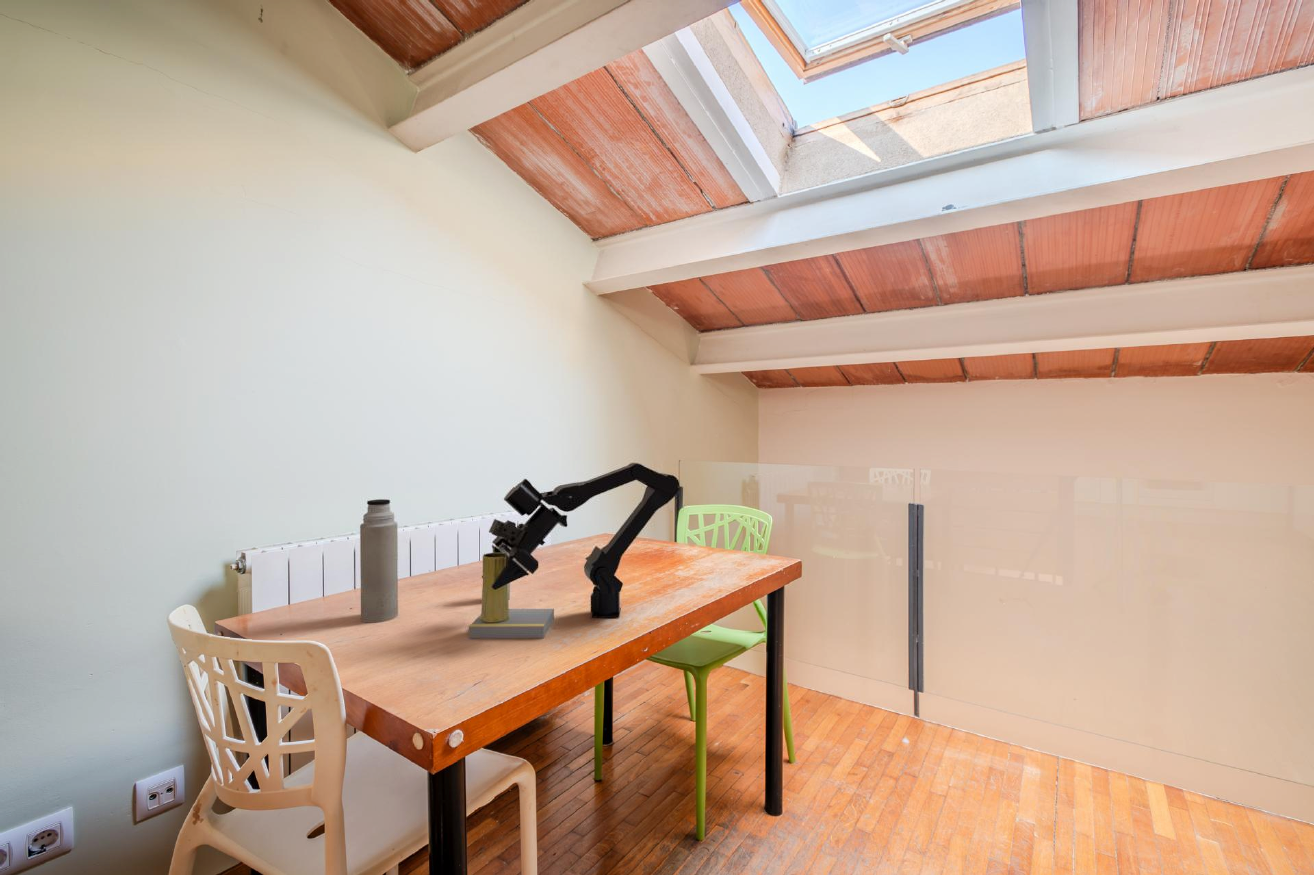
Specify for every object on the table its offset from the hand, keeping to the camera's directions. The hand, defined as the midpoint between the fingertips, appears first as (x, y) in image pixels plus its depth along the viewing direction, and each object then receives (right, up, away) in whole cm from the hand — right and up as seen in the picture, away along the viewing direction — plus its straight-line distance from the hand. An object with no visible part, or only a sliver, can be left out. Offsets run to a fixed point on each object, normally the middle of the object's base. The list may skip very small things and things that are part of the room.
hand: (487, 583), depth 124 cm
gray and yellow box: (+5, -11, +2) cm, 12 cm away
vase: (+1, -8, +1) cm, 8 cm away
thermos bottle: (-29, -11, +10) cm, 32 cm away
